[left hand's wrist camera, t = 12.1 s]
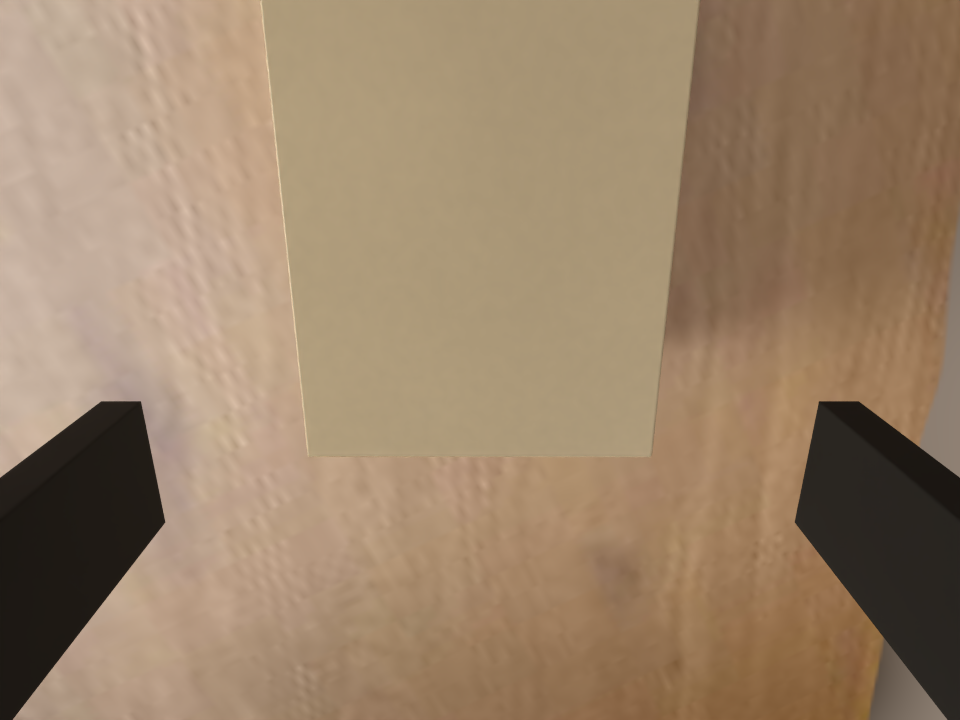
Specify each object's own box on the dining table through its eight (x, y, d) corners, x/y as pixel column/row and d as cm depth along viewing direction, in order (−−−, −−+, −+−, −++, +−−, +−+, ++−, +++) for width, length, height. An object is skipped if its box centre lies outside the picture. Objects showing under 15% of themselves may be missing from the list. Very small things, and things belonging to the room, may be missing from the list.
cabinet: (319, -233, 22) (209, -471, 13) (641, -233, 22) (751, -470, 13) (359, 354, 29) (307, 457, 20) (600, 354, 29) (652, 457, 20)
